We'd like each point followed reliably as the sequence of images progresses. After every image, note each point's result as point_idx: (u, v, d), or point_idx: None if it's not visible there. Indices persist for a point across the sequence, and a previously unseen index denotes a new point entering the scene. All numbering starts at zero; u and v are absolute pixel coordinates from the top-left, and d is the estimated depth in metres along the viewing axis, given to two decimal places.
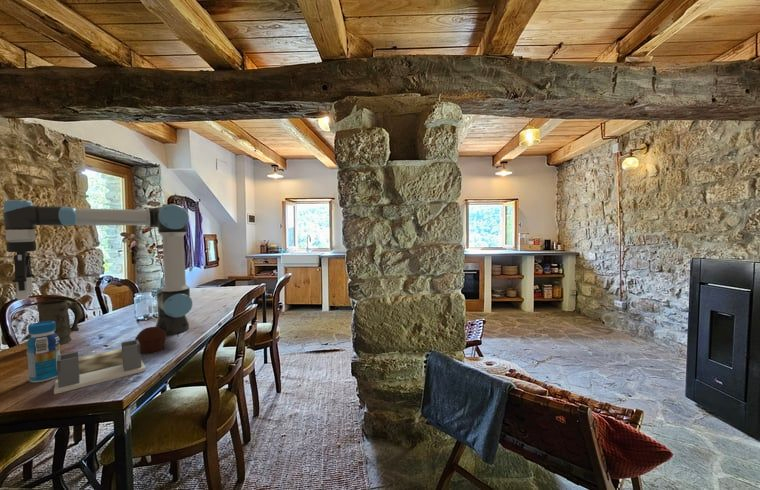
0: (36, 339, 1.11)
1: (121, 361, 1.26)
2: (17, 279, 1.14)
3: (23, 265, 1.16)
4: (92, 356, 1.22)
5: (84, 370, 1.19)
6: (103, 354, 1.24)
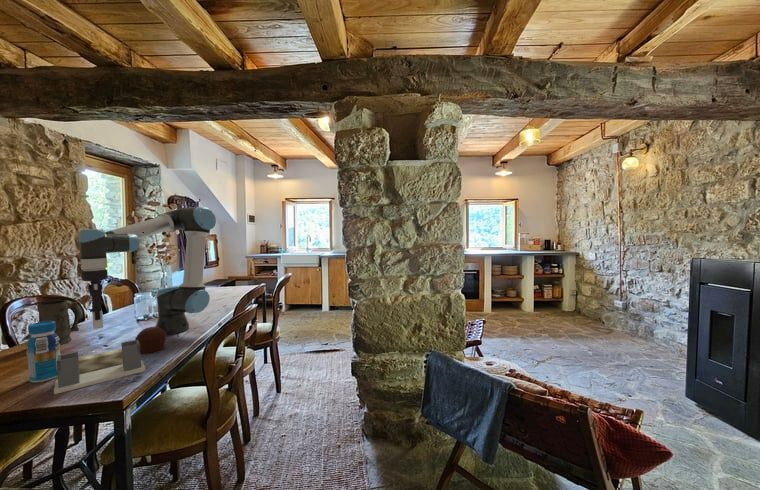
0: (36, 339, 1.11)
1: (121, 361, 1.26)
2: (94, 309, 1.15)
3: (99, 294, 1.17)
4: (92, 356, 1.22)
5: (84, 370, 1.19)
6: (103, 354, 1.24)
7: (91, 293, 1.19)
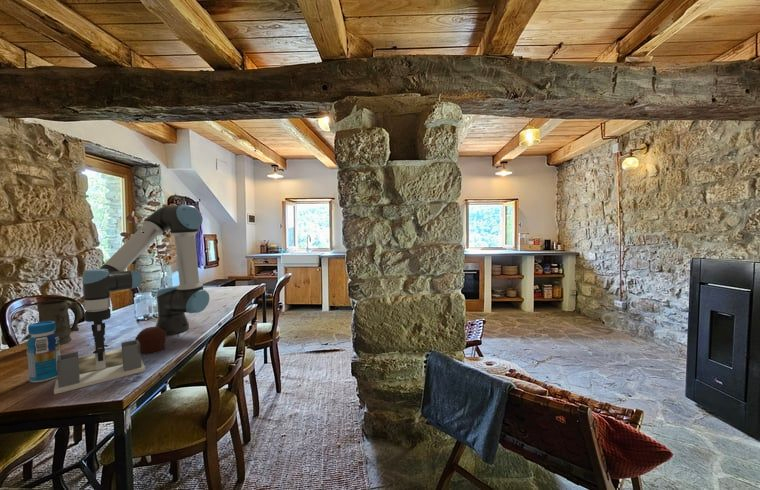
0: (36, 339, 1.11)
1: (121, 361, 1.26)
2: (98, 351, 1.15)
3: (102, 336, 1.18)
4: (92, 356, 1.22)
5: (84, 370, 1.19)
6: None
7: (94, 334, 1.19)
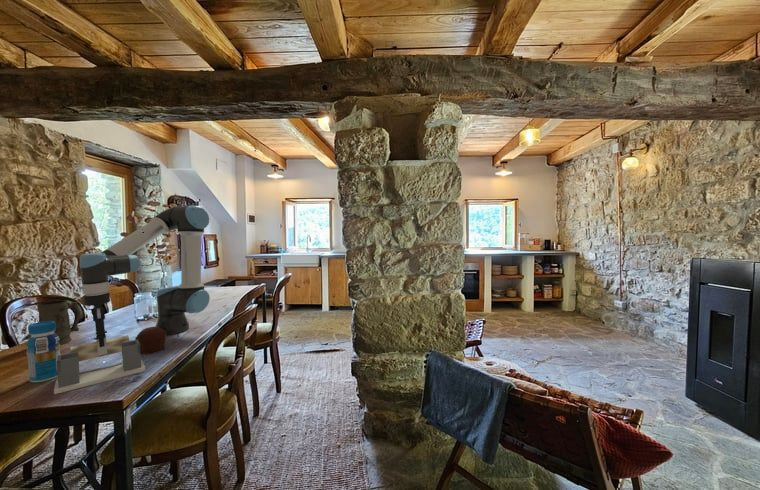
0: (36, 339, 1.11)
1: (121, 349, 1.27)
2: (99, 337, 1.19)
3: (102, 323, 1.19)
4: (92, 343, 1.22)
5: (85, 358, 1.19)
6: None
7: (94, 319, 1.20)
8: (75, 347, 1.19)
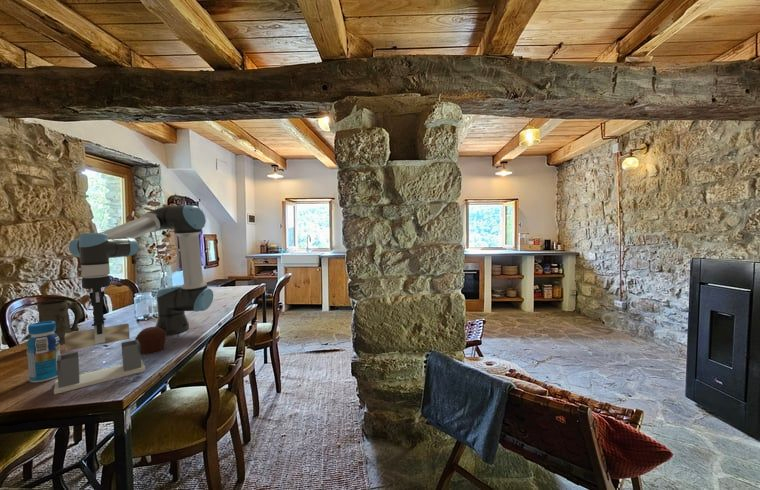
0: (36, 339, 1.11)
1: (120, 337, 1.17)
2: (96, 323, 1.09)
3: (101, 308, 1.10)
4: (89, 330, 1.12)
5: (80, 345, 1.09)
6: None
7: (92, 304, 1.11)
8: (70, 334, 1.09)
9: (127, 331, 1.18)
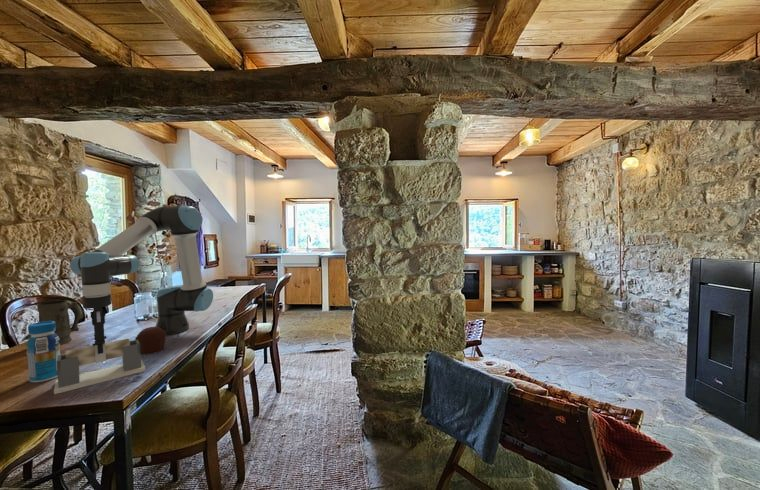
0: (36, 339, 1.11)
1: (121, 353, 1.17)
2: (97, 343, 1.10)
3: (102, 328, 1.10)
4: (90, 347, 1.12)
5: (82, 362, 1.10)
6: None
7: (93, 323, 1.11)
8: (71, 351, 1.09)
9: None
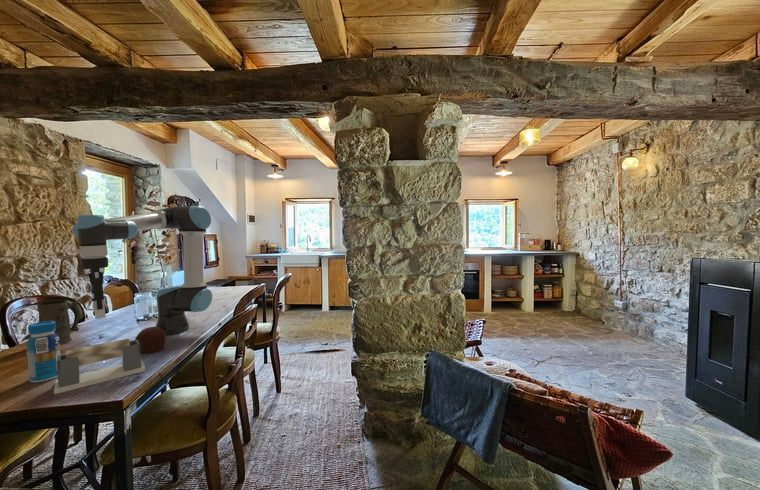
0: (36, 339, 1.11)
1: (121, 353, 1.17)
2: (96, 298, 1.10)
3: (101, 283, 1.12)
4: (90, 347, 1.12)
5: (82, 362, 1.10)
6: (102, 345, 1.14)
7: (92, 282, 1.13)
8: (71, 351, 1.09)
9: None
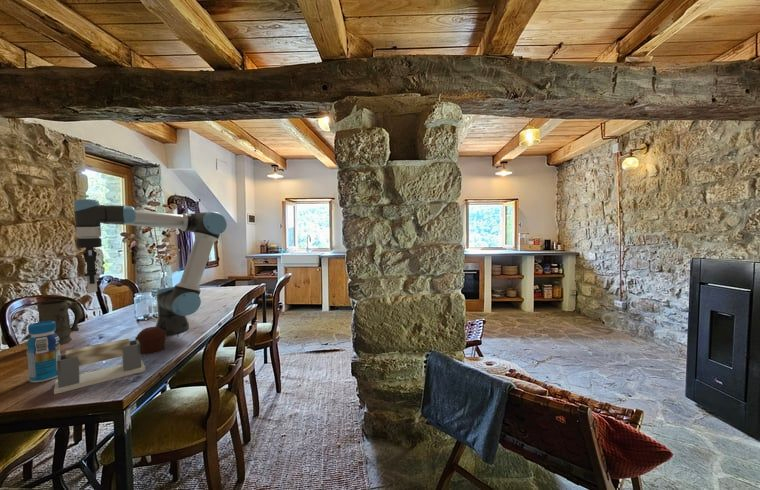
0: (36, 339, 1.11)
1: (121, 353, 1.17)
2: (89, 273, 1.22)
3: (93, 260, 1.24)
4: (90, 347, 1.12)
5: (82, 362, 1.10)
6: (102, 345, 1.14)
7: (86, 259, 1.26)
8: (71, 351, 1.09)
9: None
